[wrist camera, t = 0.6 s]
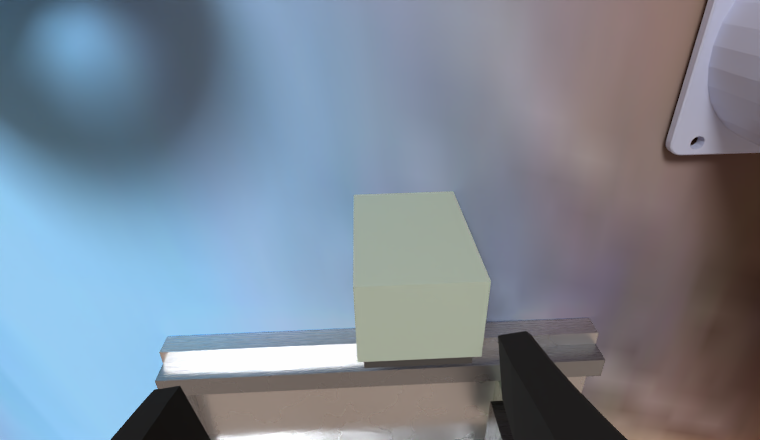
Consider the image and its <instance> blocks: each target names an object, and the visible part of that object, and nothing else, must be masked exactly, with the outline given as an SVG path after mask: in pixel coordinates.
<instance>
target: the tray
mask: <svg viewBox="0 0 760 440" xmlns="http://www.w3.org/2000/svg"><path fill="white" fill-rule="evenodd" d="M523 331H527V332H528V333H530V334H531V335H532V336H533V338H534V339H535V340H536V342H537V343H538V344H539V345H540V347H541V348H542V349H543V350H544V352H545V353H546V354H547V355H548V356H549V358H550V359H551V360H552V361H553V362H554V364H555V365H556V366H557V367H558V368H559V369H560V370H561V372H562V373H563V374H564V375H565V376H566V377H567V378H568V379H569V381H570V382H571V383H572V384H573V385H574V386H575V387H576V388H577V389H578V390H579V392H580V393H582V389H583V386H584V382H585V379H586V376H601V373H602V369H603V366H604V363H605V359H604V357H603V355H602V354H601V352H600V351H599V349H598V347H597V346H596V340H597V337H598V331H597V329H596V328H595V326H594V325H593V323H592V322H591V320H590V319H589V318H582V319H559V320H536V321H513V322H490V323H486V324H485V332H484V340H483V348H482V356H481V357H472V363H464V364H442V365H421V366H400V367H378V368H364V362H357V346H356V328H353V329H330V330H307V331H284V332H262V333H239V334H216V335H193V336H170V337H167V338H166V340H165V342H164V344H163V346H162V348H161V350H160V352H159V353H160V356H161V358H162V361H163V365H162V367H161V370H160V372H159V374H158V376H157V378H156V380H155V382H156V385H157V388H158V389H162V388H168V387H175V386H181V388H182V390H183V392H184V394H185V395H186V397H187V399H188V401H189V402H190V404H191V406H192V408H193V409H194V411H195V413H196V415H197V416H198V418H199V420H200V422H201V424H202V425H203V427H204V429H205V431H206V432H207V434H208V436H209V438H210V439H211V440H514V439H513V436H512V432H511V429H510V425H509V422H508V418H507V414H506V411H505V407H504V403H503V400H502V389H501V374H500V360H499V345H498V335H504V334H510V333H516V332H523Z"/></svg>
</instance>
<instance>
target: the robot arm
mask: <svg viewBox="0 0 760 440" xmlns="http://www.w3.org/2000/svg"><path fill="white" fill-rule="evenodd" d="M695 137H698V140H697V141H696V143H694V144H693V145H691V146H690V144H691V142H692V140H693V139H694V138H695ZM666 147H667V149H668V150H669V151H670V152H672V153H673V154H675V155H706V154H737V153H760V0H708V2H707V6H706V9H705V12H704V16H703V19H702V22H701V26H700V29H699V32H698V36H697V39H696V42H695V46H694V49H693V52H692V56H691V59H690V62H689V66H688V69H687V72H686V76H685V79H684V82H683V86H682V89H681V92H680V96H679V99H678V102H677V106H676V109H675V113H674V116H673V119H672V123H671V126H670V129H669V133H668V136H667V139H666ZM498 345H499V360H500V374H501V389H502V400H503V403H504V407H505V411H506V414H507V418H508V422H509V425H510V429H511V432H512V436H513V439H514V440H627V439H626V438H625V437H624V436H623V435H622V434H621V433H620V432H619V431H618V430H617V429H616V428H615V427H614V426H613V425H612V424H611V423H610V422H609V421H608V420H607V419H606V418H605V417H604V416H603V415H602V414H601V413H600V412H599V411H598V410H597V409H596V408H595V407H594V406H593V405H592V404H591V403H590V402H589V401H588V400H587V399H586V398H585V397H584V396H583V395H582V394H581V393H580V392H579V390H578V389H577V388H576V387H575V386H574V385H573V384H572V383H571V382H570V381H569V379H568V378H567V377H566V376H565V375H564V374H563V373H562V372H561V370H560V369H559V368H558V367H557V366H556V365H555V364H554V362H553V361H552V360H551V359H550V358H549V356H548V355H547V354H546V353H545V352H544V350H543V349H542V348H541V347H540V345H539V344H538V343H537V342H536V340H535V339H534V338H533V336H532V335H531V334H530V333H528V332H527V331H523V332H516V333H510V334H504V335H498ZM111 440H211V439H210V438H209V436H208V434H207V432H206V431H205V429H204V427H203V425H202V424H201V422H200V420H199V418H198V416H197V415H196V413H195V411H194V409H193V408H192V406H191V404H190V402H189V401H188V399H187V397H186V395H185V394H184V392H183V390H182V388H181V386H175V387H168V388H162V389H156V390H154V391H153V392H152V393H151V394H150V395H149V396H148V397H147V398H146V399H145V400H144V402H143V403H142V404H141V405H140V406H139V407H138V408H137V410H136V411H135V412H134V413H133V414H132V415H131V417H130V418H129V419H128V420H127V421H126V422H125V423H124V425H123V426H122V427H121V428H120V429H119V431H118V432H117V433H116V434H115V435H114V436H113V438H112V439H111Z"/></svg>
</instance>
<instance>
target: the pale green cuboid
mask: <svg viewBox="0 0 760 440" xmlns="http://www.w3.org/2000/svg"><path fill="white" fill-rule="evenodd" d="M490 284H491V281H490V278H489V276H488V273H487V271H486V269H485V266H484V264H483V262H482V259H481V257H480V254H479V252H478V250H477V247H476V245H475V242H474V240H473V238H472V235H471V233H470V230H469V228H468V226H467V223H466V221H465V219H464V216H463V214H462V211H461V209H460V207H459V204H458V202H457V199H456V197H455V195H454V192H424V193H395V194H366V195H354V252H353V291H354V309H355V327H356V346H357V362H364V368H378V367H400V366H421V365H442V364H464V363H472V357H481V356H482V348H483V340H484V332H485V324H486V316H487V308H488V300H489V292H490Z"/></svg>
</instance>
